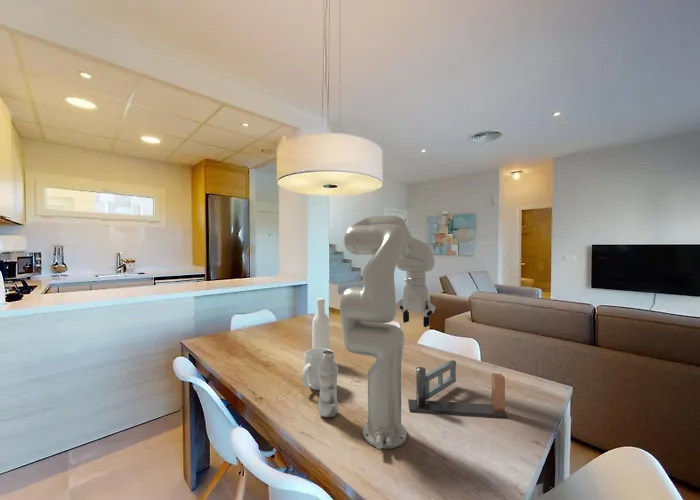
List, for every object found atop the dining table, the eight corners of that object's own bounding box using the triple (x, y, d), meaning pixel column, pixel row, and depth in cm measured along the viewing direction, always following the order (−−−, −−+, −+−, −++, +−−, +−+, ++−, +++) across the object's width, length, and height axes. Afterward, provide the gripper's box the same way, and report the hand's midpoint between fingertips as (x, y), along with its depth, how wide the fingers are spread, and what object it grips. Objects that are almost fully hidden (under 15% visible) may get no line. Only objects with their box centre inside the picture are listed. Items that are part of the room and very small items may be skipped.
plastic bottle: (327, 407, 99) (327, 347, 99) (342, 414, 95) (342, 352, 95) (313, 415, 94) (313, 353, 94) (329, 423, 90) (328, 357, 90)
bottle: (311, 360, 141) (311, 297, 141) (327, 359, 143) (327, 297, 143) (313, 367, 133) (313, 300, 133) (330, 365, 135) (330, 299, 135)
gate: (426, 399, 100) (426, 376, 100) (422, 398, 101) (422, 375, 101) (455, 381, 114) (455, 361, 114) (452, 380, 115) (452, 359, 115)
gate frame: (506, 417, 93) (506, 376, 93) (409, 411, 96) (409, 371, 96) (499, 407, 99) (499, 368, 99) (408, 402, 102) (408, 364, 102)
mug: (315, 400, 104) (315, 363, 104) (291, 393, 109) (291, 357, 109) (338, 383, 117) (338, 350, 117) (315, 377, 122) (315, 346, 122)
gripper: (393, 281, 124) (393, 322, 124) (429, 284, 111) (429, 330, 112) (403, 279, 129) (404, 319, 129) (439, 283, 117) (440, 326, 117)
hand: (416, 324), depth 120 cm, fingers open, 9 cm apart
